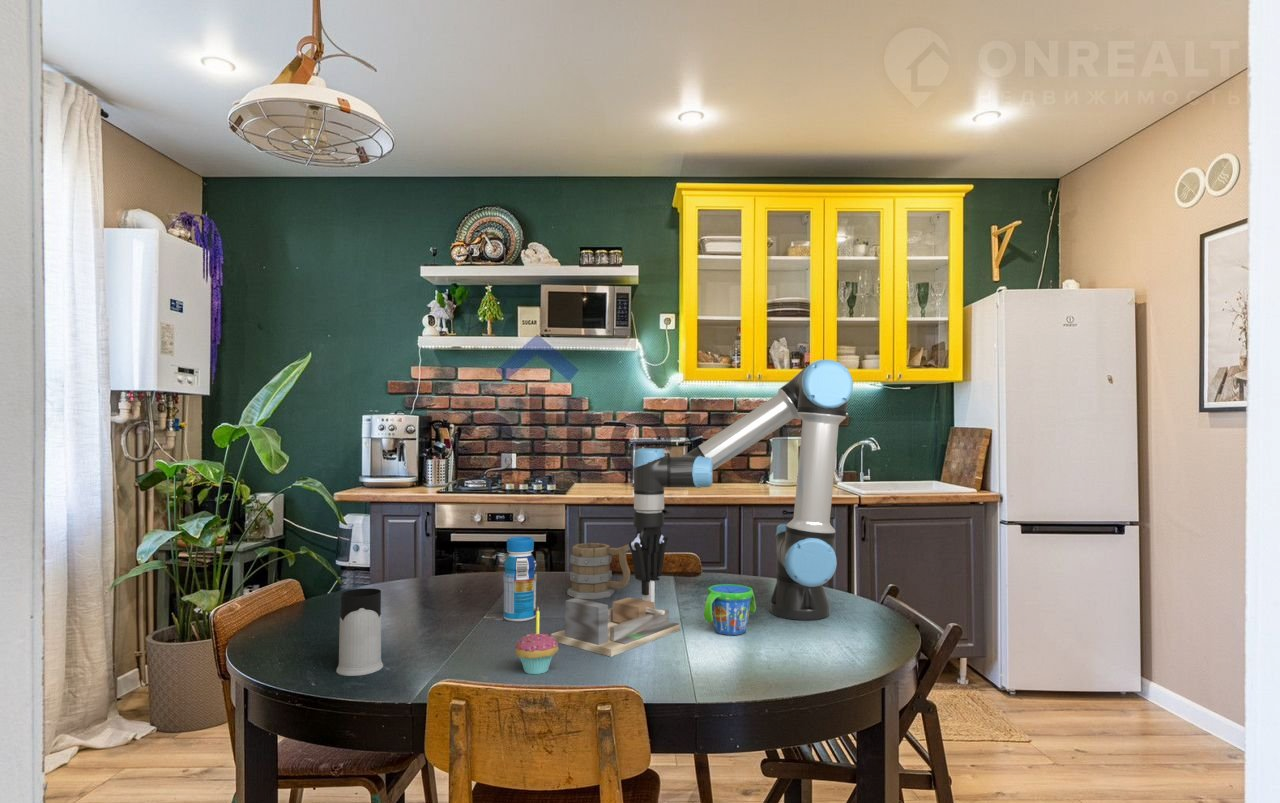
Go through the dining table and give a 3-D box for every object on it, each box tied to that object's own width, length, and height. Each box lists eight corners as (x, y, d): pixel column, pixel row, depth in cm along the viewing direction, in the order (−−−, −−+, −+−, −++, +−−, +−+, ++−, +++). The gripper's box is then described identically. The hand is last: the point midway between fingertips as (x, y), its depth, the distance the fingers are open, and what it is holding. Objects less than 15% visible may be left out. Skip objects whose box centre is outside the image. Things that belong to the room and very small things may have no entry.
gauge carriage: (671, 625, 165) (671, 605, 166) (655, 631, 161) (655, 610, 161) (628, 616, 173) (628, 597, 174) (612, 621, 169) (612, 601, 169)
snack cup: (740, 621, 176) (740, 580, 176) (770, 632, 167) (770, 588, 167) (690, 631, 167) (690, 588, 167) (719, 643, 158) (719, 597, 159)
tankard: (563, 598, 199) (564, 545, 200) (575, 588, 212) (575, 538, 212) (633, 601, 196) (633, 547, 197) (641, 591, 208) (641, 540, 209)
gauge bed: (680, 630, 168) (680, 589, 168) (611, 656, 149) (611, 611, 149) (622, 617, 179) (622, 579, 180) (550, 640, 160) (551, 598, 160)
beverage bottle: (496, 620, 177) (496, 539, 177) (514, 612, 184) (515, 535, 185) (525, 623, 173) (526, 541, 174) (542, 615, 181) (543, 537, 182)
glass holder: (336, 678, 136) (337, 599, 136) (336, 656, 149) (337, 584, 149) (384, 672, 139) (385, 595, 140) (380, 651, 152) (381, 580, 153)
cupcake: (517, 663, 144) (517, 604, 145) (559, 662, 145) (559, 603, 145) (513, 678, 136) (513, 615, 136) (557, 677, 136) (558, 614, 137)
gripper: (653, 507, 182) (652, 600, 181) (620, 512, 172) (619, 610, 171) (676, 509, 177) (676, 604, 176) (644, 514, 167) (643, 615, 166)
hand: (648, 607), depth 174 cm, fingers closed
